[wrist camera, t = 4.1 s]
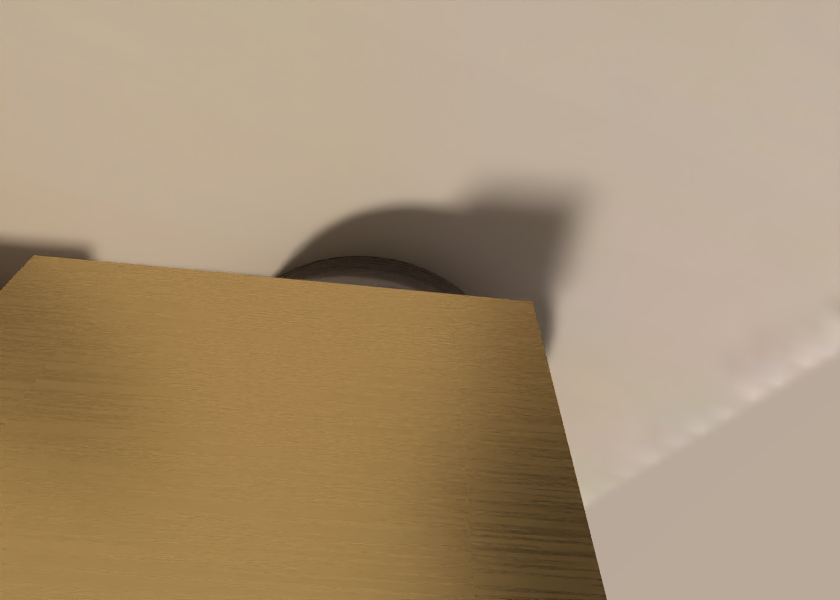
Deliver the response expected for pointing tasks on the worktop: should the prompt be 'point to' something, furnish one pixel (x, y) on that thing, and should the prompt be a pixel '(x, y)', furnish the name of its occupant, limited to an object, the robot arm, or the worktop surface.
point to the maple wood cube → (278, 442)
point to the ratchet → (373, 274)
